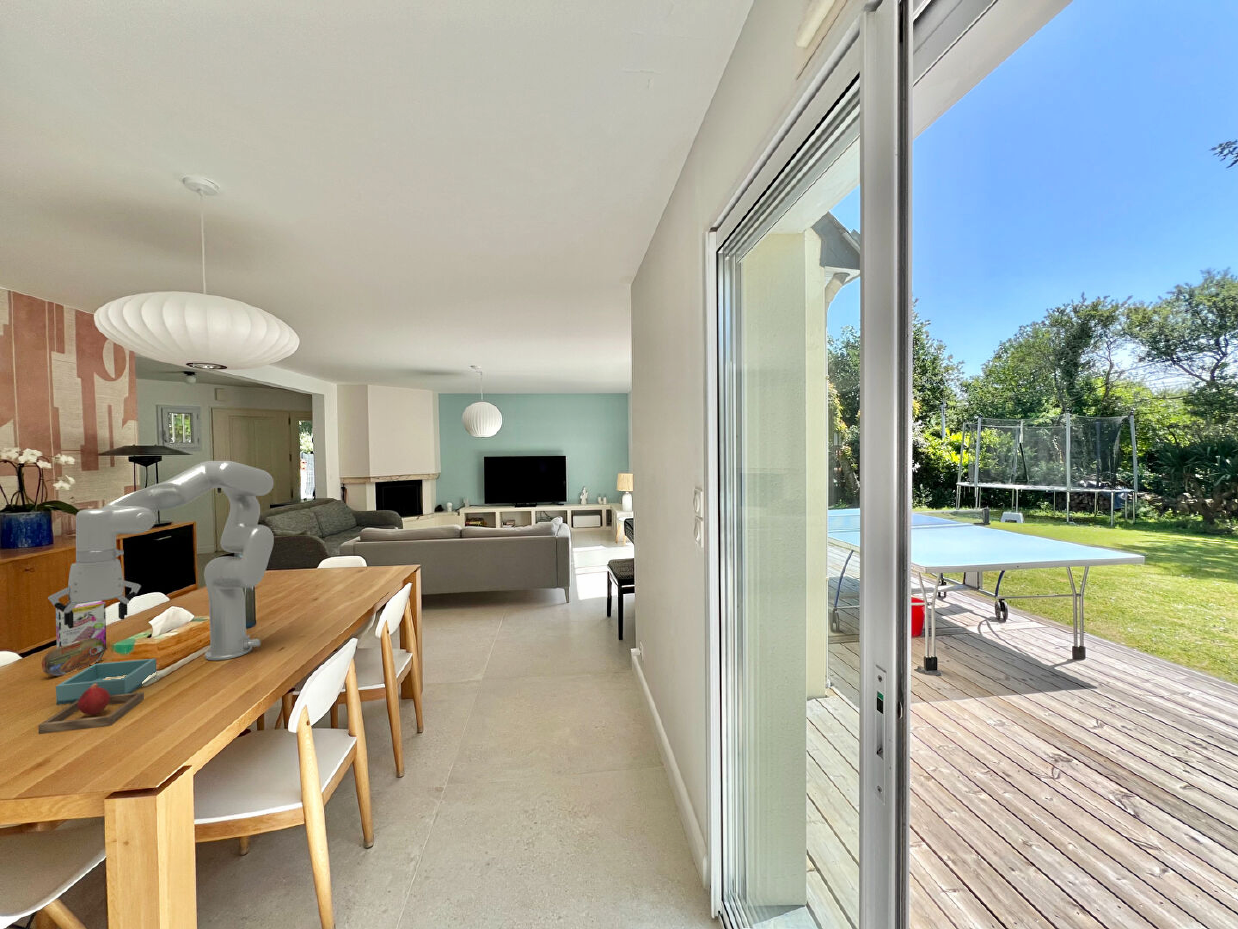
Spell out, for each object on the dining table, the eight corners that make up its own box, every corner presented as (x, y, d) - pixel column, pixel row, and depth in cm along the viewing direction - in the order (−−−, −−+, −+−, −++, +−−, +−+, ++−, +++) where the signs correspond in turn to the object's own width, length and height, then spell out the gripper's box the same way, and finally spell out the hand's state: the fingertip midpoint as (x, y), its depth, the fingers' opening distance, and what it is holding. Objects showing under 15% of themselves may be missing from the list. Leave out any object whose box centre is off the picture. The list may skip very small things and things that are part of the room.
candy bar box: (60, 662, 172) (57, 610, 171) (56, 658, 174) (54, 607, 174) (107, 651, 181) (105, 601, 180) (103, 647, 184) (101, 599, 183)
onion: (82, 723, 133) (81, 691, 133) (75, 717, 136) (73, 686, 136) (114, 713, 138) (112, 682, 138) (106, 707, 141) (104, 677, 141)
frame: (144, 699, 146) (143, 692, 146) (110, 725, 132) (109, 717, 132) (80, 706, 142) (79, 698, 142) (38, 733, 129) (38, 725, 128)
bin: (156, 675, 161) (156, 658, 161) (125, 697, 147) (124, 679, 146) (95, 681, 157) (94, 664, 157) (56, 705, 143) (55, 686, 143)
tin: (48, 681, 158) (47, 652, 158) (40, 680, 158) (38, 651, 158) (106, 660, 173) (105, 634, 172) (98, 660, 173) (97, 633, 173)
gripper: (136, 551, 150) (137, 613, 150) (46, 559, 137) (46, 628, 137) (143, 554, 146) (143, 618, 146) (50, 563, 132) (50, 634, 132)
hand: (96, 622), depth 141 cm, fingers open, 9 cm apart
